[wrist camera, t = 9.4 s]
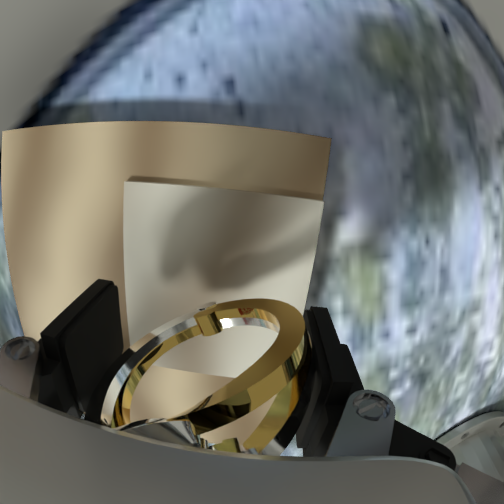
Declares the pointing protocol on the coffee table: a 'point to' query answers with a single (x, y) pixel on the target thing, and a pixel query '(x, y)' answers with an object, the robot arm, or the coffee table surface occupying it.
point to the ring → (228, 397)
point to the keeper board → (165, 237)
